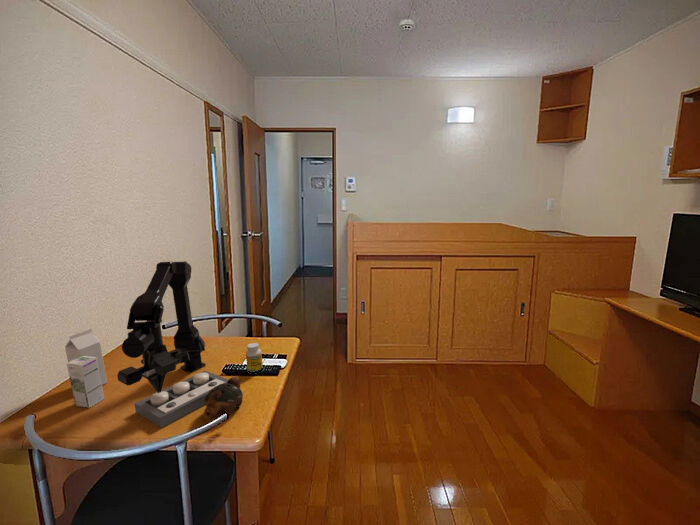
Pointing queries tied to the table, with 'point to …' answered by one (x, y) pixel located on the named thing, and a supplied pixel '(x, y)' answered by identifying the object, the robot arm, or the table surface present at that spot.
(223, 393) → the decorative turtle
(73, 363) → the syrup box
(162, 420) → the board
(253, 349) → the supplement bottle
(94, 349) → the milk carton
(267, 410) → the table surface
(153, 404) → the button
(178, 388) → the button
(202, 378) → the button
